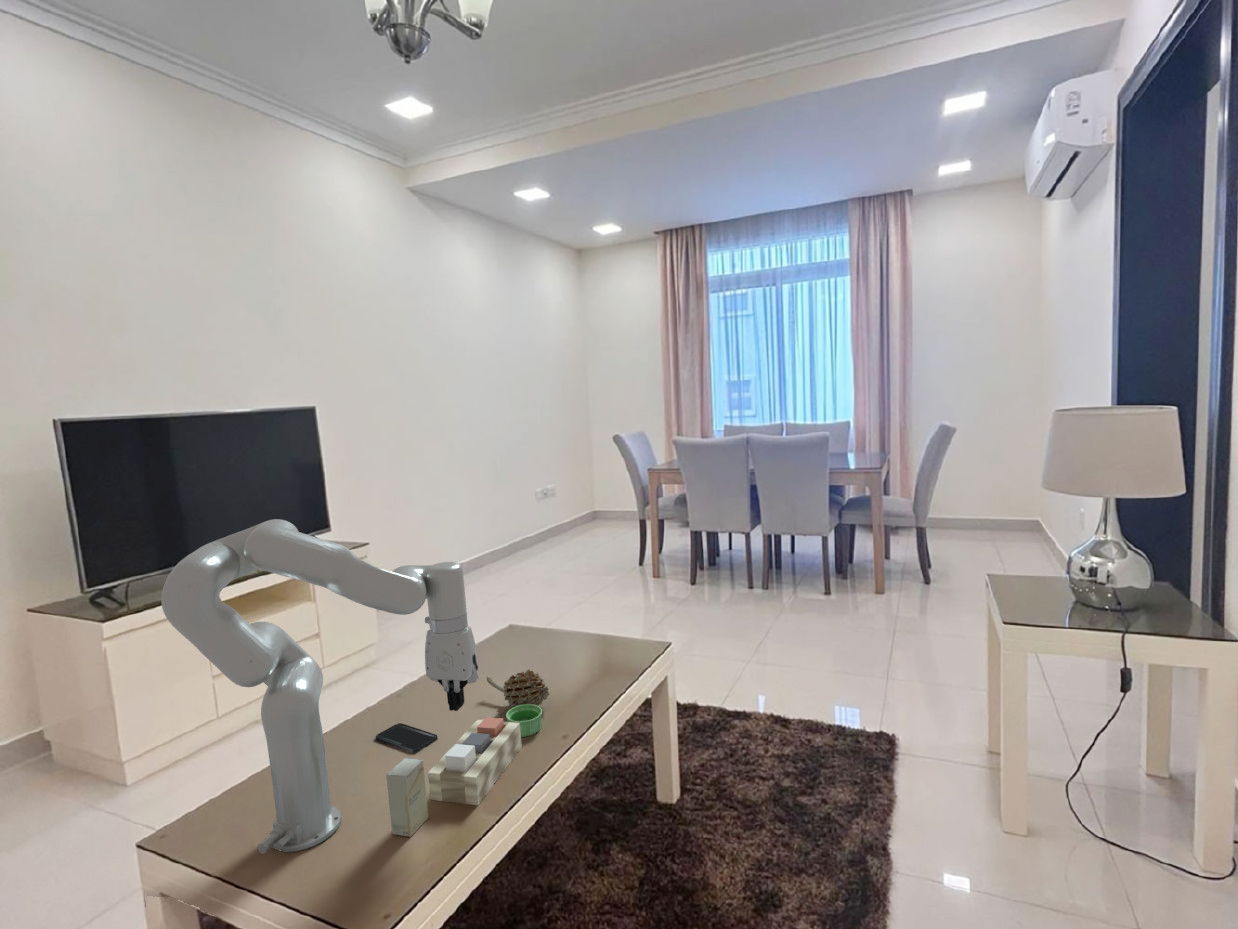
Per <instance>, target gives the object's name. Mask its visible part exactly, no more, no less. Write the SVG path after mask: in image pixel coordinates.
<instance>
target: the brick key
mask: <svg viewBox="0 0 1238 929" xmlns="http://www.w3.org/2000/svg"><path fill="white" fill-rule="evenodd" d="M504 719H505V718H500V717H499V718H497V717H485V718H483V719H482V720H483V721H482V722H481V723H480V724H479V725H478V727H477V732H478V733H481V734H490V736H491V737H497V736H498V735H499V734H500V732H501V731H502V730H503V729H504V722H505V721H504Z"/></svg>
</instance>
